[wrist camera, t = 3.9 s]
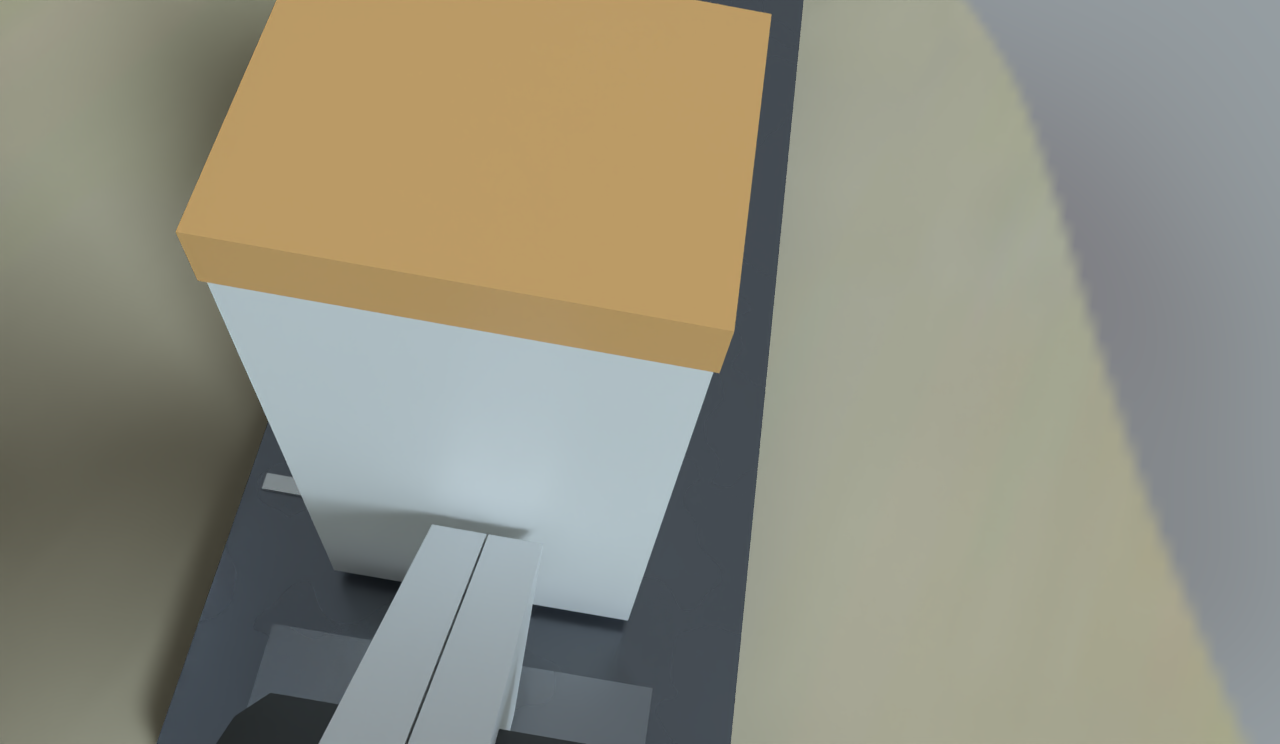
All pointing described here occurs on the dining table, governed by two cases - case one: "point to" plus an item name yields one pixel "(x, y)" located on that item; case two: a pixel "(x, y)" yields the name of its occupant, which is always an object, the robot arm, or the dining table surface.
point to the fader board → (557, 639)
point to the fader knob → (486, 265)
